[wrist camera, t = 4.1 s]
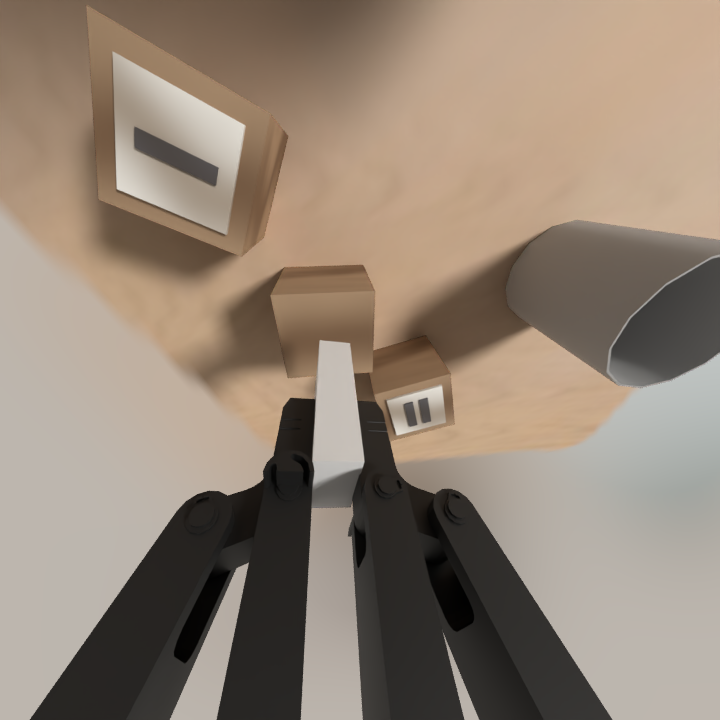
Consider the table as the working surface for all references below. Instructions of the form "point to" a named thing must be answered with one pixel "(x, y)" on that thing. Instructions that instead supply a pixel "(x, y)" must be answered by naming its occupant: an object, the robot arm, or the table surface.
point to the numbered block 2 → (412, 388)
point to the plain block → (324, 315)
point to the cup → (622, 298)
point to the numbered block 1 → (179, 142)
